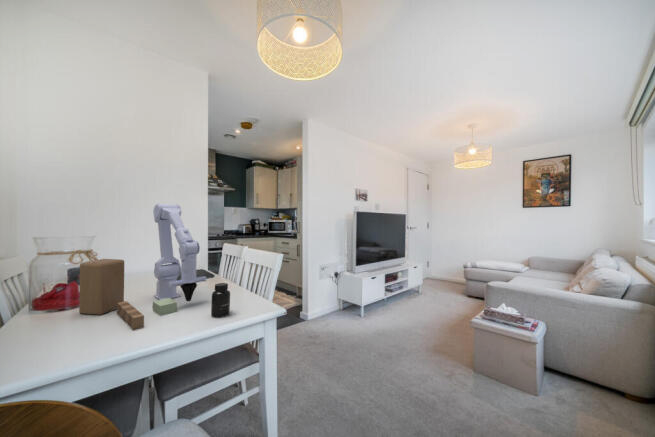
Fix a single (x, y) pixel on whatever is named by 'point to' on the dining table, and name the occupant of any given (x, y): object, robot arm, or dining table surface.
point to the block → (101, 286)
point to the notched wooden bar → (130, 315)
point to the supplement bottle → (220, 300)
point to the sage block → (164, 306)
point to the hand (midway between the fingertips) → (188, 300)
